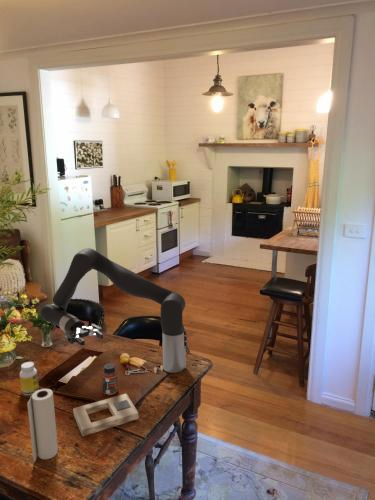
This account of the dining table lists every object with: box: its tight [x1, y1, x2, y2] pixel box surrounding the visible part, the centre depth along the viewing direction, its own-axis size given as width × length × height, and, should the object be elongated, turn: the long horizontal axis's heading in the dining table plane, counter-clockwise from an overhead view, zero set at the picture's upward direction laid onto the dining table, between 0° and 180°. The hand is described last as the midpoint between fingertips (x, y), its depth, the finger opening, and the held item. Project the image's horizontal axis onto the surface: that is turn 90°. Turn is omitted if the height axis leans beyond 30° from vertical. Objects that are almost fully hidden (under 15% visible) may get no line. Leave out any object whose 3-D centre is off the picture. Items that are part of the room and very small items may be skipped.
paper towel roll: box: [27, 388, 59, 463], centre depth 127 cm, size 7×6×21 cm
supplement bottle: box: [101, 363, 119, 394], centre depth 161 cm, size 6×6×11 cm
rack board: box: [72, 393, 140, 437], centre depth 147 cm, size 20×13×3 cm, turn 117°
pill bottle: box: [19, 361, 40, 396], centre depth 161 cm, size 6×6×12 cm
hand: (93, 340), depth 164 cm, fingers open, 8 cm apart
